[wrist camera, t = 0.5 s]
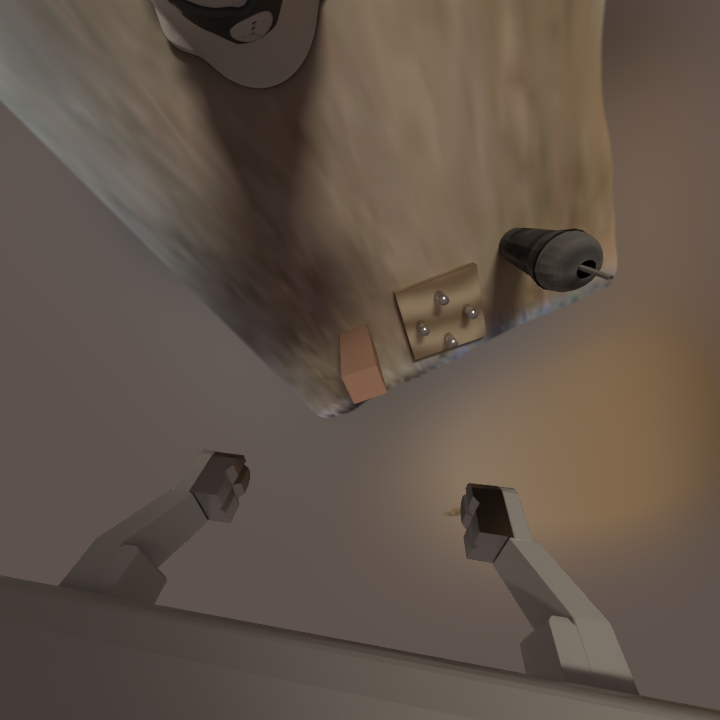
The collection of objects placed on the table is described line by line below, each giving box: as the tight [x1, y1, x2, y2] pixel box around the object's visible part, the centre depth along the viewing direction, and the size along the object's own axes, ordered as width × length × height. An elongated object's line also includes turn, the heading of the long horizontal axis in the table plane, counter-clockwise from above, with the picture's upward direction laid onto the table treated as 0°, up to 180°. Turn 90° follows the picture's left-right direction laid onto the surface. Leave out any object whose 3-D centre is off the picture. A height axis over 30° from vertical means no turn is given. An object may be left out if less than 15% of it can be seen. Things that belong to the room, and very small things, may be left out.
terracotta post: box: [339, 325, 387, 404], centre depth 47 cm, size 5×5×13 cm
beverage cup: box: [499, 228, 614, 292], centre depth 38 cm, size 7×7×20 cm
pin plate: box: [394, 262, 487, 360], centre depth 49 cm, size 13×13×4 cm
